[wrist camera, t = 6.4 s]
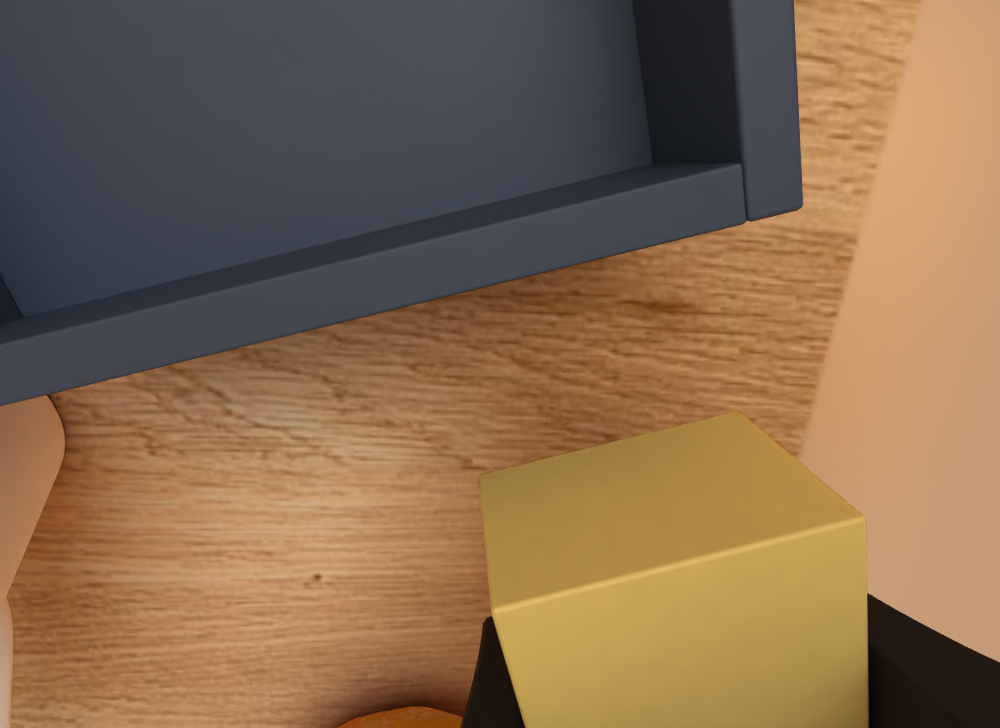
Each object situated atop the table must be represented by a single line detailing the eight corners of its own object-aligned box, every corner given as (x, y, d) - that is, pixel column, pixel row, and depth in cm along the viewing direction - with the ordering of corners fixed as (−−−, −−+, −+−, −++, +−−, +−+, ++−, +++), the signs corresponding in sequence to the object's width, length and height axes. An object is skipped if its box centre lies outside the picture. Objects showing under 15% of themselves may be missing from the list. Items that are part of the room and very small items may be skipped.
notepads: (738, 408, 11) (869, 516, 7) (767, 715, 13) (873, 896, 10) (476, 473, 11) (489, 611, 7) (558, 768, 13) (595, 966, 10)
